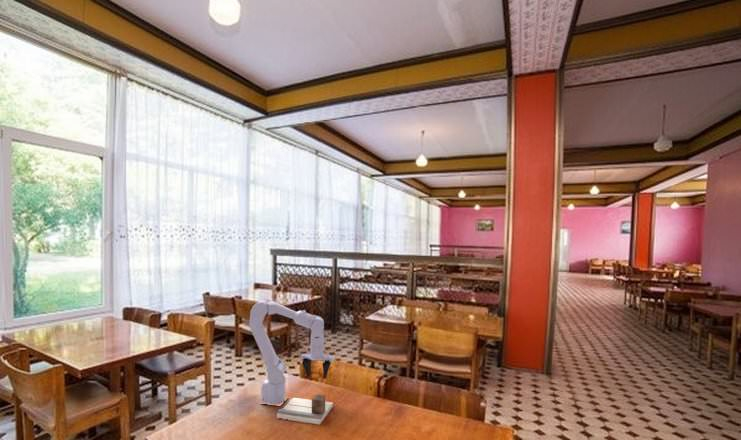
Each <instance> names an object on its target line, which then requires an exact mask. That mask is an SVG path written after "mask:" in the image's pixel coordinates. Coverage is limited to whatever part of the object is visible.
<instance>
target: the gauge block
mask: <svg viewBox="0 0 741 440" xmlns="http://www.w3.org/2000/svg"><path fill="white" fill-rule="evenodd" d="M311 400H312V413H314V414H321V415H323V413H324V412H325V402H326V395H322V394H315V395H314V396H313V397H312V398H311Z"/></svg>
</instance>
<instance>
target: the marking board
mask: <svg viewBox="0 0 741 440" xmlns="http://www.w3.org/2000/svg"><path fill="white" fill-rule="evenodd" d="M333 406H334V402H331V401H325V412H324V413H323V415H321V414H314V413H312V399H308V398H300V397H299V398H298V397H292V398H291V399H290V400H289V402H288V403H286V404H285V405H284V406H283V408H279V409H278V410H277V413H276V419H279V418H282V419H281V420H286V419H288V420H287V421H293V422H300V423H306V424H314V425H321V423H322V422H323V421H324V420H325V418H326V417H327V415H328V414H329V412H330V411H331V410H332V409H333Z"/></svg>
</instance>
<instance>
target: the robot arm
mask: <svg viewBox="0 0 741 440" xmlns="http://www.w3.org/2000/svg"><path fill="white" fill-rule="evenodd" d="M273 314H278V315H281V316H283V317H286V318H288V319H292V320H293V321H294V324H297V325H299V326H301V327H304V328H307V329H309V330H310V331H311V333H310V353H302V354H301V355H300V360H302V362H301V363H302V365H303V367H304V369H305V373H306V378H310V376H311V374H312V370H311V368H312V367H311V366H312V361H318V362H319V361H320V362H322V364H321V365H322V370H323V371H322V372H323V373H322V374H323V375H322V376H323V377H322V378H323V380H326V379H327V378H328V377H327V376H328V373H329V369H330V367H331V364H332V363H333V362H334V356H333V355H332V356H331V355H327V354H324V353H325V352H324V351H325V346H324V344H325V341H324V338H325V334H324V328H325V322H324V321H325V320H324V319H323V318H322V317H321V316H320V315H315V314H311V313H308V312H306V310H305V309H303V310H298V311H296V310H294V309H291V308H289V307H288V306H287V307H286V306H285V305H282V304H280V303H278V302H275V300H270V299H267V298H261V299H259V300H258V301H257V302H256V303H255V304H253V306H252V308H251V309H250V315H249V320H248V321H249V322H248V327H249V329H250V332H251V334H252V335H253V337H254V339H255V343H256V345H257V346H258V348H259V351H260V353H261V355H262V358H263V360H264V362H265V370H266V372H267V379H265V380H263V382H262V385H261V399H260V400H261V402H266V403H270V404H280V403H282V402H284V401H285V397H286V377H285V375H284V374H285V372H286V368H287V366H286V364H285V362H284V361H282V360H281V358H280V357H279V356H278V355H277V353H276V350H275V349H274V347H273V344H272V342H271V339H270V338H269V336H268V333H267V331H266V329H265V326H264V324H263V322H264V319H265V317H266V315H273ZM264 399H265V400H264ZM261 402H260V403H261Z"/></svg>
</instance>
